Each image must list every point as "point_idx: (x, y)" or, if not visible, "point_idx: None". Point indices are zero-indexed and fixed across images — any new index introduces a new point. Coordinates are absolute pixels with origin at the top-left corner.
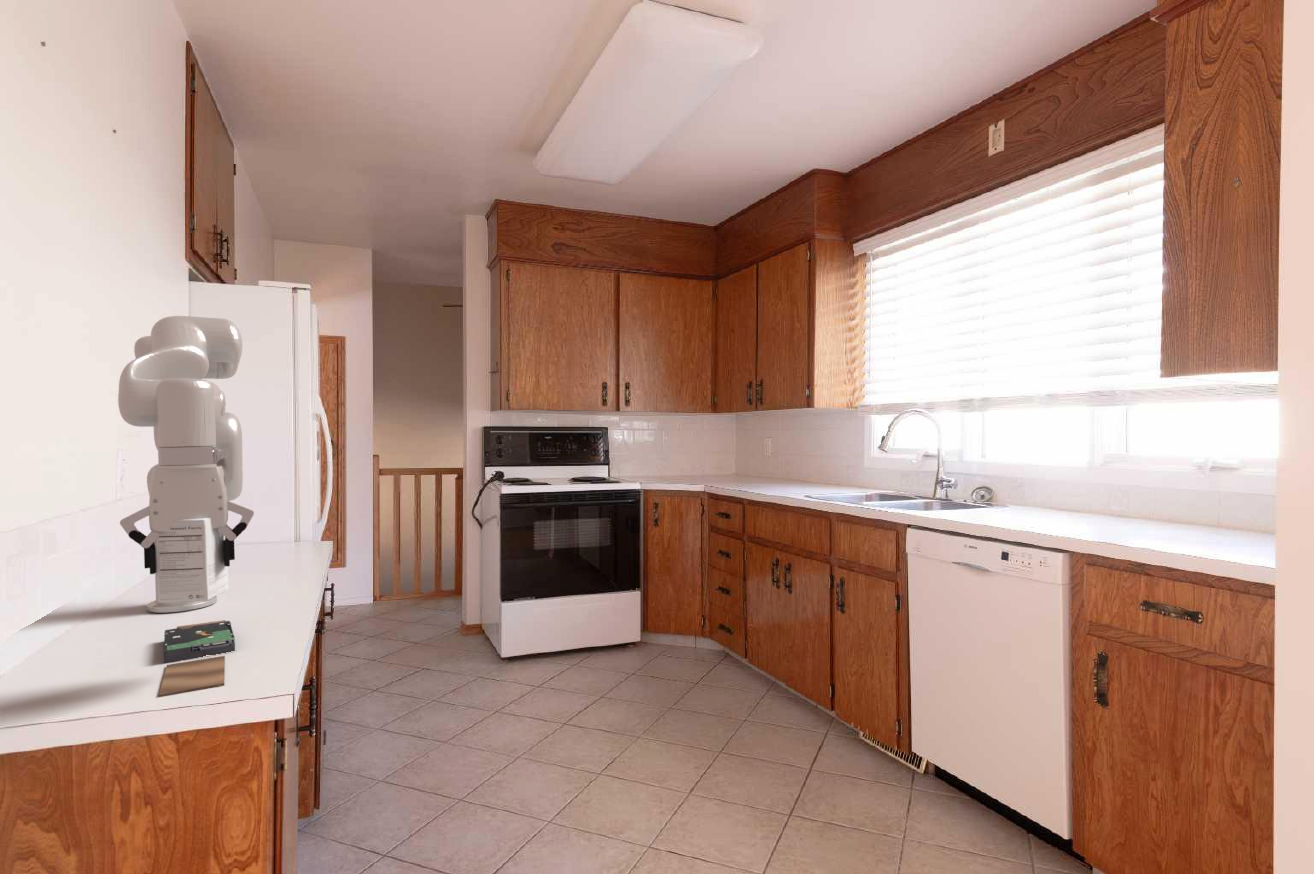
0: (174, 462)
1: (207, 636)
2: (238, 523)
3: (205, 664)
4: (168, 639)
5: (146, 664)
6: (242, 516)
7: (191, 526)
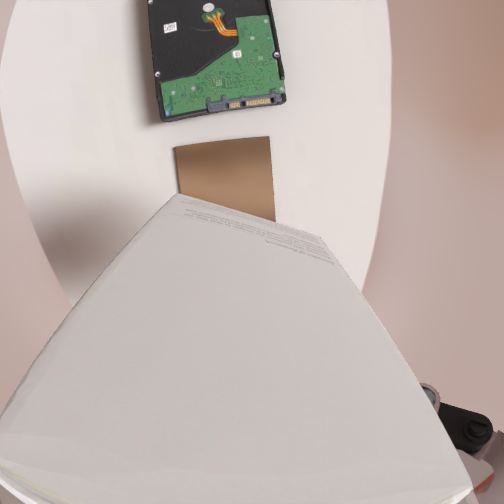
0: None
1: (229, 47)
2: (464, 448)
3: (241, 177)
4: (157, 40)
5: (139, 115)
6: (474, 488)
7: None
